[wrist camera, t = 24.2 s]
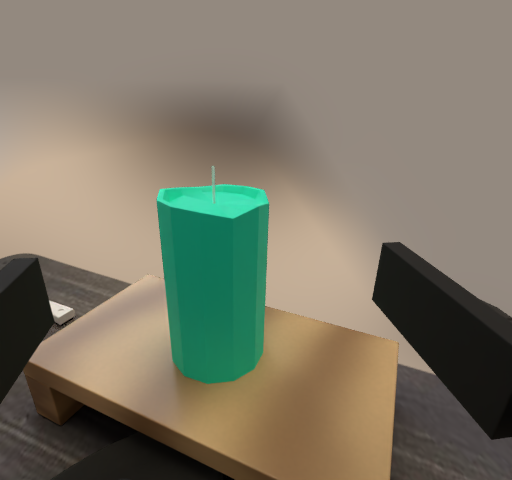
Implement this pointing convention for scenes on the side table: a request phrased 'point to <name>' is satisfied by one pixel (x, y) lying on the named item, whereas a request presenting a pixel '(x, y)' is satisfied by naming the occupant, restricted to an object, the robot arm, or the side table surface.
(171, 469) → the sandal
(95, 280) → the side table surface
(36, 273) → the robot arm
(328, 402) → the oak shelf
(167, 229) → the candle
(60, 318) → the white plastic blade
